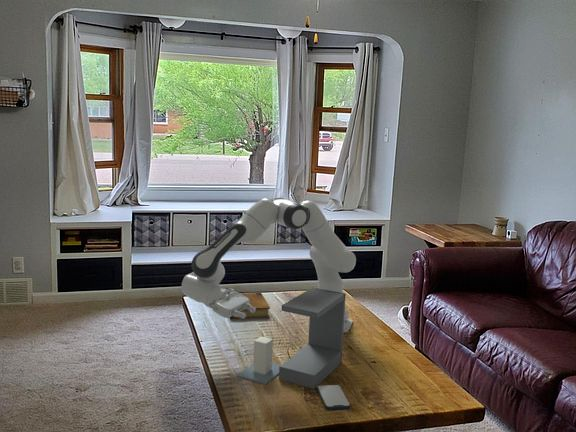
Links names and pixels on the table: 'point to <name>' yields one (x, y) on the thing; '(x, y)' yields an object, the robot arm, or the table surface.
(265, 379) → the mat
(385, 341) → the table surface
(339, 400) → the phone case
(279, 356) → the table surface
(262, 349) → the block
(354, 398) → the table surface
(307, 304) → the grey c-shaped bracket
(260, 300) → the diary
